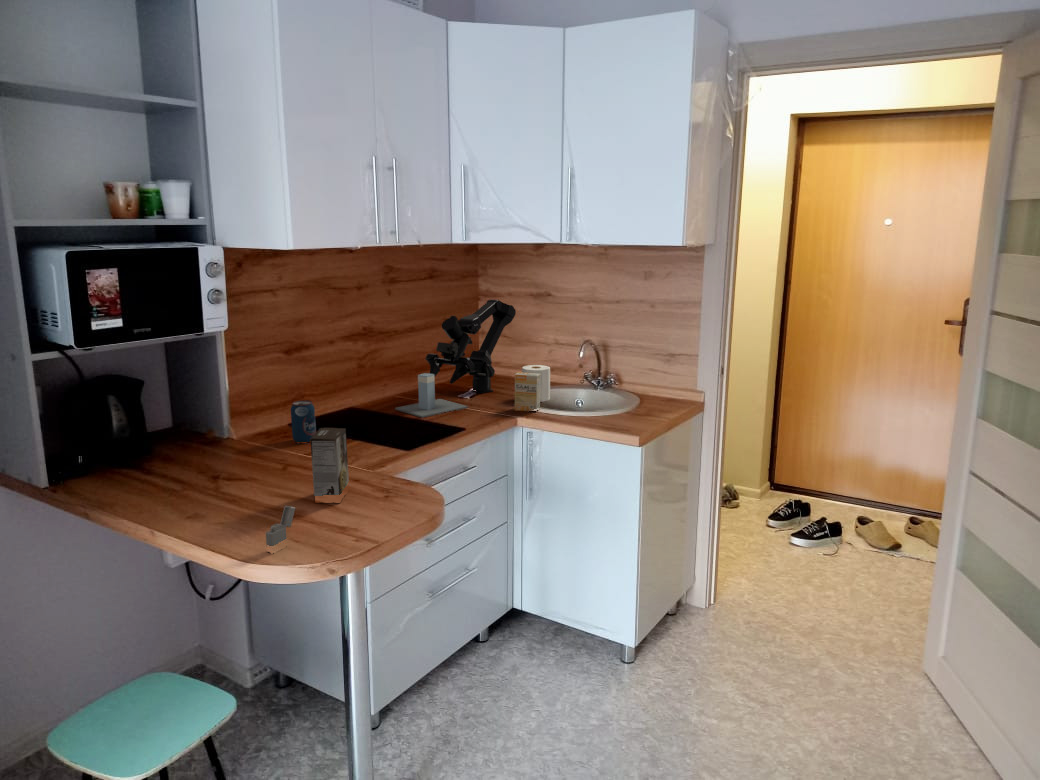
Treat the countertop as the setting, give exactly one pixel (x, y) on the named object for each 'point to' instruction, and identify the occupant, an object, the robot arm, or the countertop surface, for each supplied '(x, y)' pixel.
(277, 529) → the lighter
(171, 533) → the countertop surface
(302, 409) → the soda can
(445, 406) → the grey mat
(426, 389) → the blue block
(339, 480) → the coffee box
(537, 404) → the supplement box
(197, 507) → the countertop surface
